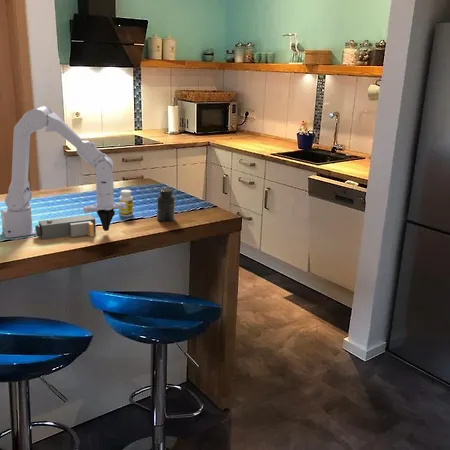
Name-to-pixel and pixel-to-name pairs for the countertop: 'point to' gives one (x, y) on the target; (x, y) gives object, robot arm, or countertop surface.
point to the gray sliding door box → (60, 226)
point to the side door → (81, 229)
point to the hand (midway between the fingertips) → (105, 229)
